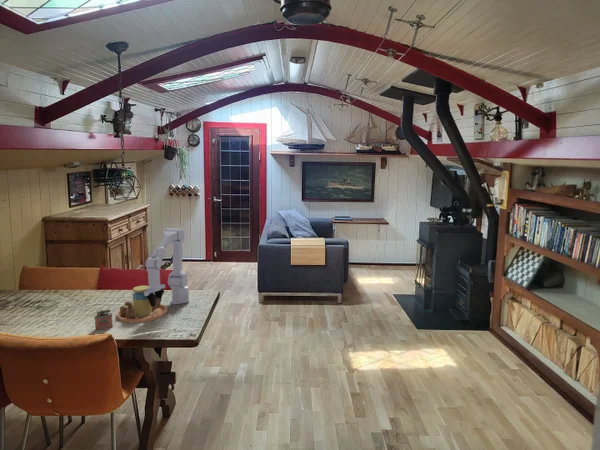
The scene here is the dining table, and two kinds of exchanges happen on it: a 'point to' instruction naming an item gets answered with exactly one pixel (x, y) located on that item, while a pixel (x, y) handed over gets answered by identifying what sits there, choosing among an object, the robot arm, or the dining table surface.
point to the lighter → (103, 320)
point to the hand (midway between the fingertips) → (155, 304)
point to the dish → (155, 315)
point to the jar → (141, 301)
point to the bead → (157, 303)
